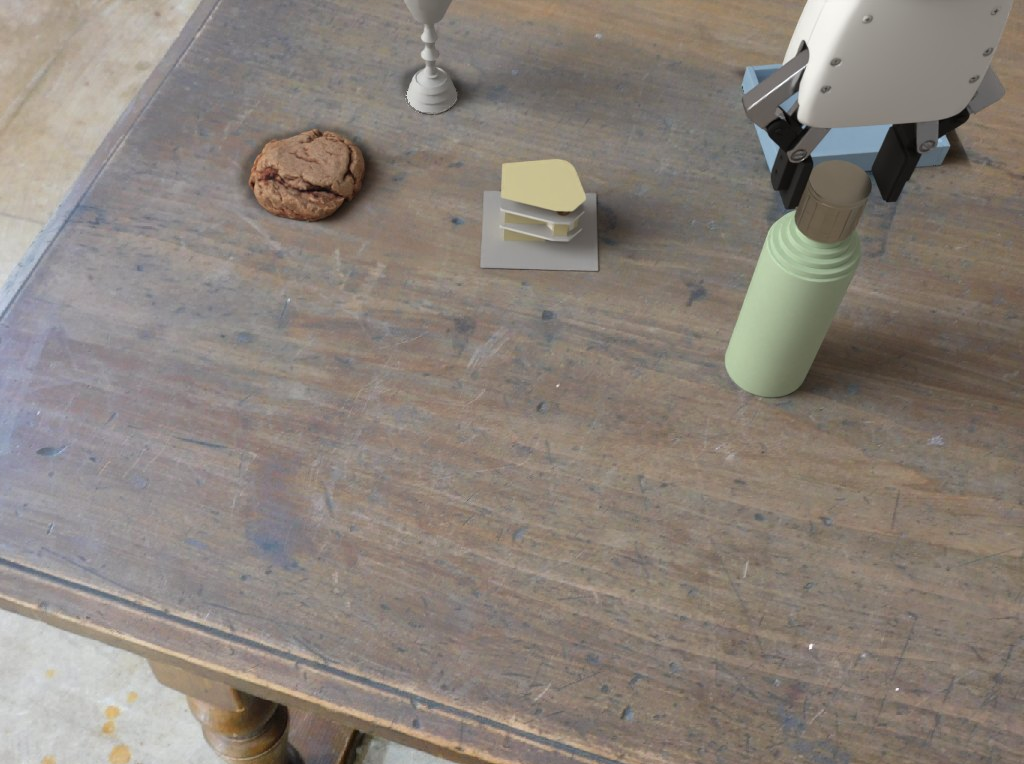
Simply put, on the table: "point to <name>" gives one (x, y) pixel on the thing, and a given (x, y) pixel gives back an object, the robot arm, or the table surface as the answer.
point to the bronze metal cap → (833, 201)
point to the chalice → (430, 61)
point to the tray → (836, 134)
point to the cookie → (307, 175)
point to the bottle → (789, 308)
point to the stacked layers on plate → (539, 219)
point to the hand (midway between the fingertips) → (834, 188)
